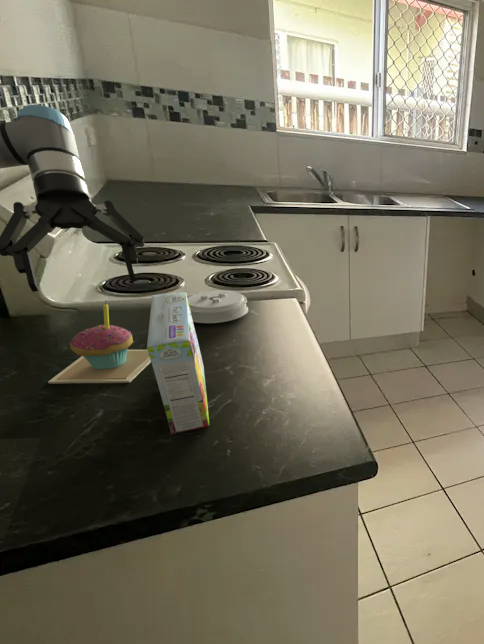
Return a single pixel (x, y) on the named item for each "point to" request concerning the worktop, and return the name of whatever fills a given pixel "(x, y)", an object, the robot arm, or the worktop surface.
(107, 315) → the cupcake
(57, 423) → the worktop surface
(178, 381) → the snack box
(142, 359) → the tan square board
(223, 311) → the lid
